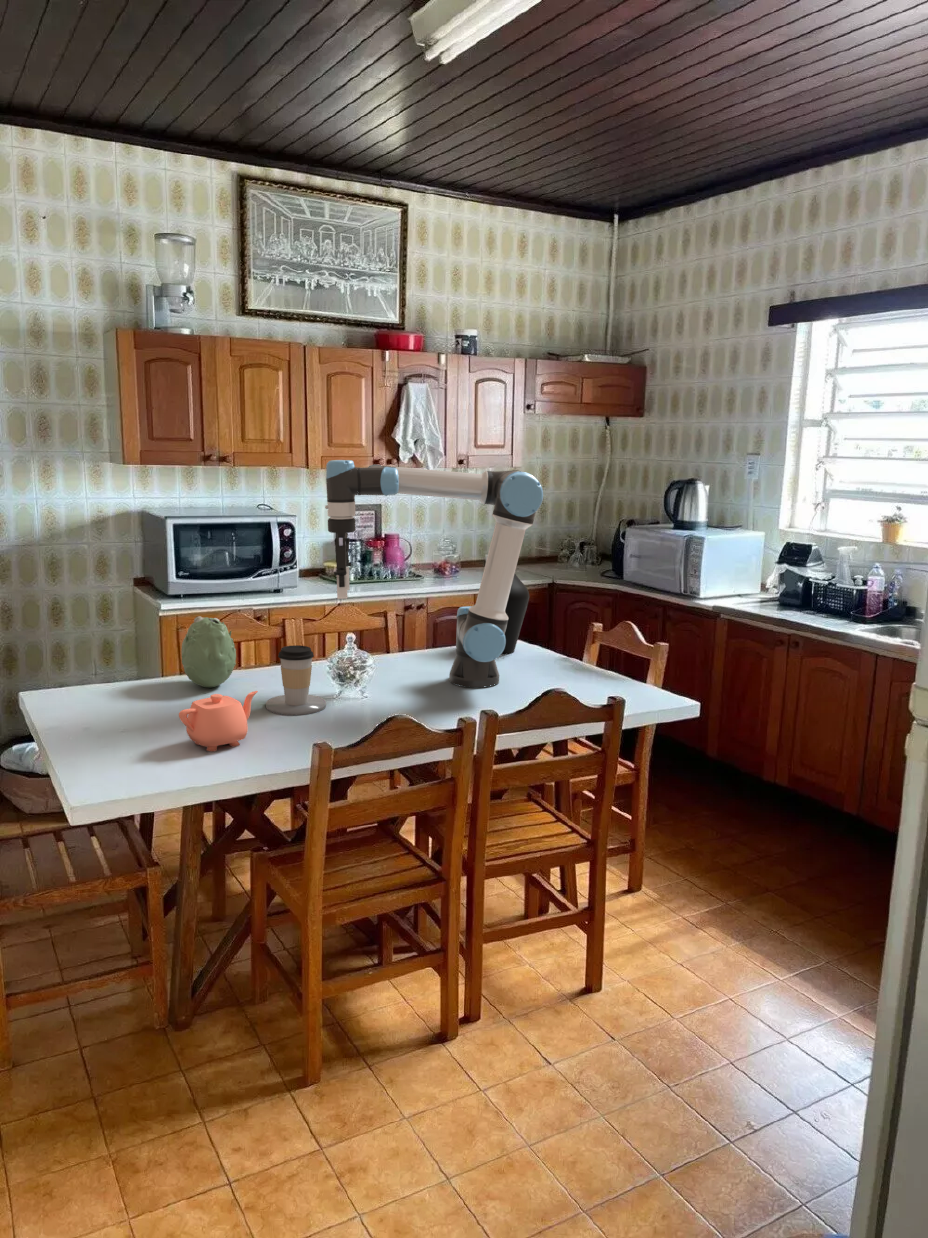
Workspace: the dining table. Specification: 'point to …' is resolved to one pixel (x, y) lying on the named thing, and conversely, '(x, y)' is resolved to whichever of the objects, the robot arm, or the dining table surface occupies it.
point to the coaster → (281, 707)
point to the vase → (515, 613)
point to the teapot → (217, 720)
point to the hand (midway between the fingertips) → (343, 594)
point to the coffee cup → (296, 673)
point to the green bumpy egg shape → (208, 652)
